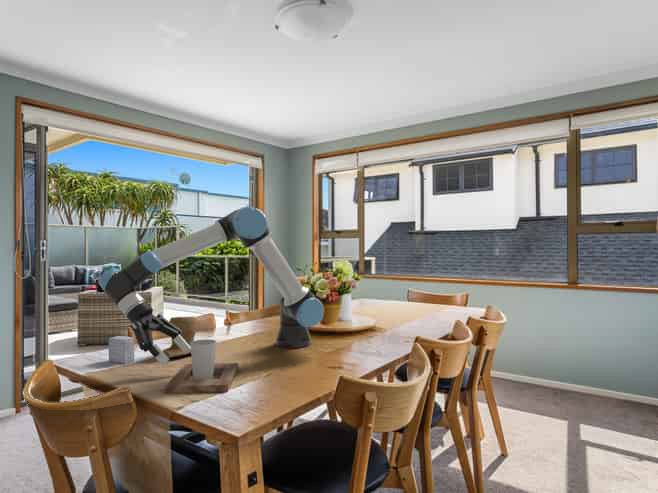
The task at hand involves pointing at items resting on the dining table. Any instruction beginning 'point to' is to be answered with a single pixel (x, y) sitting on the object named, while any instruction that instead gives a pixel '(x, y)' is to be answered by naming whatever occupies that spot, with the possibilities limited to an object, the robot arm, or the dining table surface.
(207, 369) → the cup
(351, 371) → the dining table surface
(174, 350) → the wooden stamp
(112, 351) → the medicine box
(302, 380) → the dining table surface
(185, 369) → the board
